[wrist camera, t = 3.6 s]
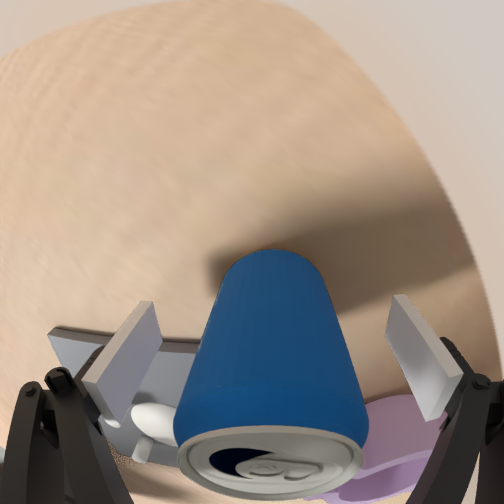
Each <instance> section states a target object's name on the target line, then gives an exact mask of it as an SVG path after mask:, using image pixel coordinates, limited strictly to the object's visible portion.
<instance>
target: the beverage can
mask: <svg viewBox="0 0 504 504" xmlns="http://www.w3.org/2000/svg"><path fill="white" fill-rule="evenodd" d="M368 432H369V418H368V414H367V410H366V407H365V403H364V400H363V397H362V393H361V390H360V387H359V383H358V380H357V377H356V374H355V370H354V367H353V364H352V361H351V358H350V355H349V352H348V349H347V346H346V343H345V340H344V337H343V334H342V331H341V328H340V325H339V322H338V319H337V316H336V314H335V311H334V308H333V305H332V302H331V300H330V297H329V294H328V291H327V289H326V286H325V283H324V281H323V278H322V276H321V274H320V273H319V271H318V270H317V269H316V267H315V266H314V265H313V264H312V263H311V262H309V261H308V260H307V259H305V258H303V257H302V256H300V255H298V254H295V253H293V252H290V251H286V250H279V249H268V250H261V251H257V252H254V253H251V254H249V255H247V256H245V257H243V258H241V259H240V260H239V261H237V262H236V263H235V264H234V265H233V266H232V267H231V268H230V269H229V270H228V272H227V273H226V275H225V277H224V278H223V281H222V284H221V286H220V289H219V292H218V294H217V297H216V300H215V303H214V305H213V308H212V311H211V314H210V316H209V319H208V322H207V325H206V327H205V330H204V333H203V336H202V339H201V341H200V344H199V347H198V350H197V353H196V355H195V358H194V361H193V364H192V367H191V370H190V372H189V375H188V378H187V381H186V384H185V387H184V390H183V392H182V395H181V398H180V401H179V404H178V407H177V410H176V413H175V416H174V419H173V433H174V438H175V441H176V443H177V445H178V447H179V450H178V454H177V459H176V461H177V465H178V467H179V469H180V470H181V472H182V473H183V474H184V475H185V476H186V477H187V478H189V479H190V480H191V481H193V482H194V483H196V484H198V485H200V486H201V487H204V488H206V489H208V490H211V491H213V492H216V493H219V494H222V495H226V496H230V497H234V498H240V499H246V500H255V501H285V500H295V499H301V498H306V497H311V496H315V495H318V494H322V493H325V492H327V491H330V490H332V489H335V488H337V487H339V486H341V485H343V484H344V483H346V482H347V481H349V480H350V479H351V478H353V477H354V476H355V475H356V474H357V473H358V472H359V470H360V469H361V467H362V465H363V454H362V451H361V450H362V448H363V446H364V444H365V442H366V440H367V436H368Z"/></svg>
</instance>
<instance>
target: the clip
mask: <svg viewBox="0 0 504 504" xmlns="http://www.w3.org/2000/svg"><path fill="white" fill-rule="evenodd" d="M365 407H366V410H367V414H368V418H369V432H368V436H367V440H366V442H365V444H364V446H363V448H362V450H361V451H362V454H363V465H362V467H361V469H360V470H359V472H358V473H357V474H356V475H355V476H354V477H353V478H351V479H350V480H349V481H347V482H346V483H344V484H343V485H341V486H339V487H337V488H335V489H332V490H330V491H327V492H325V493H322V494H318V495H315V496H311V497H306V498H303V499H304V500H315V499H324V500H325V501H326V502H327V503H329V504H367V503H372V502H376V501H380V500H383V499H387V498H390V497H393V496H395V495H398V494H402V493H405V492H409V491H413V490H414V488H415V486H416V484H417V482H418V480H419V478H420V476H421V474H422V472H423V470H424V468H425V466H426V464H427V462H428V460H429V458H430V455H431V453H432V451H433V449H434V446H435V444H436V441H437V439H438V436H439V434H440V431H441V430H439V428H440V426H441V425H442V423H443V422H444V420H445V418H446V417H447V415H448V414H447V412H446V411H445V412H443V413H442V414H441V416H440V418H437V419H433V420H430V421H427V422H425V419H424V417H423V415H422V412H421V410H420V408H419V406H418V403H417V401H416V399H415V397H414V395H396V396H390V397H386V398H382V399H379V400H375V401H373V402H370V403H367V404H365ZM441 429H442V428H441Z"/></svg>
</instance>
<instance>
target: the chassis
mask: <svg viewBox="0 0 504 504" xmlns="http://www.w3.org/2000/svg"><path fill="white" fill-rule="evenodd" d="M47 336H48V338H49V340H50V342H51V345H52V347H53V349H54V351H55V353H56V355H57V357H58V359H59V361H60V363H61V365H62V367H65V368H67V369H68V370H69V372H70V374H71V375H72V377H73V378H74V377H75V375H76V374H77V373H78V371H79V370H80V369H81V367H82V366H83V365H84V364H85V362H86V361H87V359H89V357H90V356H91V354H92V353H93V352H94V351H95V350H96V349H97V348H99V347H100V346H102V345H104V346H106V345H107V344H108V343H109V341H110V340H111V339H112V337H111V336H103V335H95V334H88V333H81V332H75V331H68V330H62V329H57V328H53V329H52V330H51V331H50V332H49V333H48V334H47ZM198 347H199V343H178V342H162V344H161V346H160V348H159V350H158V351H157V353H156V355H155V357H154V359H153V361H152V363H151V365H150V367H149V369H148V371H147V372H146V374H145V376H144V378H143V380H142V382H141V384H140V386H139V388H138V390H137V392H136V394H135V396H134V398H133V400H132V402H131V404H130V406H129V408H128V410H127V412H126V414H125V416H124V418H123V420H122V422H121V424H120V425H116V424H112V423H108V422H106V421H105V419H104V418H103V416H102V415H100V417H99V419H98V420H99V422H100V424H101V426H102V429H103V432H104V435H105V436H106V438H107V439H108V440H109V442H110V443H111V444H112V446H113V447H114V448H115V449H116V451H117V452H118V453H119V454H121V455H124V456H128V457H132V459H133V460H135V461H136V462H138V463H141V464H146V462H147V461H148V462H152V463H157V464H161V465H166V466H172V467H177V468H179V467H178V465H177V461H176V459H177V454H178V450H179V447H178V445H177V443H176V441H175V438H174V433H173V419H174V416H175V413H176V410H177V407H178V404H179V401H180V398H181V395H182V392H183V390H184V387H185V384H186V381H187V378H188V375H189V372H190V370H191V367H192V364H193V361H194V358H195V355H196V353H197V350H198Z"/></svg>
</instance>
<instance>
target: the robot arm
mask: <svg viewBox="0 0 504 504" xmlns="http://www.w3.org/2000/svg"><path fill="white" fill-rule="evenodd" d="M385 338H386V340H387V341H388V343H389V345H390V347H391V349H392V351H393V353H394V355H395V357H396V359H397V361H398V363H399V365H400V367H401V369H402V371H403V373H404V375H405V377H406V380H407V382H408V384H409V386H410V388H411V390H412V392H413V395H414V397H415V399H416V401H417V403H418V406H419V408H420V410H421V412H422V415H423V417H424V419H425V422H427V421H430V420H433V419H437V418H440V416H441V414H442V413H443V411H444V409H445V410H446V412H447V414H448V415H447V417H446V418H445V420H444V422H443V423H442V425H441V426H440V428H439V430H441V431H440V434H439V436H438V439H437V441H436V444H435V446H434V449H433V451H432V453H431V455H430V458H429V460H428V462H427V464H426V466H425V468H424V470H423V472H422V474H421V476H420V478H419V480H418V482H417V484H416V486H415V488H414V490H413V491H412V493H411V495H410V497H409V499H408V500H407V502H406V504H461V503H462V501H463V498H464V496H465V493H466V491H467V488H468V485H469V482H470V480H471V477H472V474H473V471H474V468H475V464H476V462H477V458H478V455H479V451H480V459H479V474H478V483H477V492H476V499H475V504H504V380H503V381H501V382H491V381H490V379H489V378H488V377H486V376H485V375H482V374H475V373H474V372H473V370H472V369H471V367H470V366H469V365H468V363H467V362H466V360H465V359H464V358H463V356H461V353H460V352H459V351H458V350H457V348H456V347H455V345H454V344H453V343H452V342H451V341H450V340H448V339H447V338H445V337H441V338H439V337H438V336H437V335H436V333H435V332H434V330H433V329H432V328H431V326H430V325H429V324H428V323H427V321H426V320H425V319H424V317H423V316H422V315H421V313H420V312H419V311H418V310H417V308H416V307H415V306H414V305H413V303H412V302H411V301H410V300H409V298H408V297H407V296H406V295H405V294H398V295H393V297H392V303H391V308H390V313H389V318H388V323H387V328H386V332H385ZM162 342H163V340H162V336H161V332H160V329H159V325H158V321H157V317H156V313H155V309H154V305H153V302H149V301H141V302H140V303H139V304H138V305H137V307H136V308H135V309H134V310H133V312H132V313H131V314H130V315H129V317H128V318H127V319H126V320H125V322H124V323H123V324H122V326H121V327H120V328H119V329H118V331H117V332H116V333H115V335H114V336H113V337H112V339H111V340H110V341H109V343H108V344H107V345H106V346H104V345H102V346H100V347H99V348H97V349H96V350H95V351H94V352H93V353H92V354H91V356H90V357H89V359H87V361H86V362H85V364H84V365H83V366H82V367H81V369H80V370H79V371H78V373H77V374H76V375H75V377H74V378H73V377H72V375H71V374H70V372H69V370H68V369H67V368H65V367H57V368H54V369H52V370H50V371H49V372H48V373H47V374H46V376H45V379H44V381H45V382H46V384H47V386H48V387H49V389H50V390H43V389H42V387H41V385H40V384H39V383H38V382H35V381H32V382H28V383H26V384H25V385H24V386H23V387H22V388H21V390H20V392H19V395H18V399H17V402H16V406H15V410H14V413H13V417H12V422H11V426H10V430H9V435H8V440H7V445H6V451H5V457H4V459H3V458H2V457H0V504H134V502H133V500H132V498H131V496H130V494H129V492H128V490H127V488H126V486H125V484H124V482H123V480H122V478H121V475H120V473H119V471H118V469H117V466H116V464H115V461H114V459H113V456H112V454H111V451H110V449H109V446H108V443H107V441H106V438H105V435H104V432H103V429H102V426H101V424H100V422H99V420H98V419H99V417H100V415H102V416H103V418H104V419H105V421H106V422H108V423H112V424H116V425H120V424H121V422H122V420H123V418H124V416H125V414H126V412H127V410H128V408H129V406H130V404H131V402H132V400H133V398H134V396H135V394H136V392H137V390H138V388H139V386H140V384H141V382H142V380H143V378H144V376H145V374H146V372H147V371H148V369H149V367H150V365H151V363H152V361H153V359H154V357H155V355H156V353H157V351H158V350H159V348H160V346H161V344H162ZM441 428H442V429H441Z"/></svg>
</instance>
